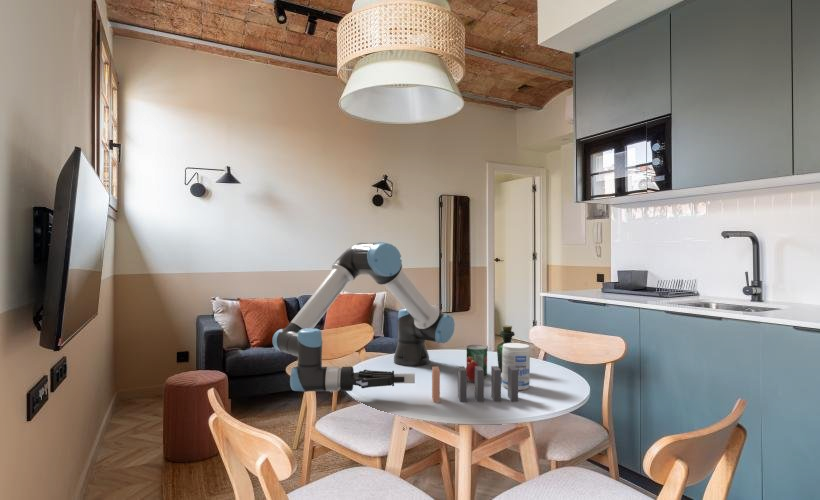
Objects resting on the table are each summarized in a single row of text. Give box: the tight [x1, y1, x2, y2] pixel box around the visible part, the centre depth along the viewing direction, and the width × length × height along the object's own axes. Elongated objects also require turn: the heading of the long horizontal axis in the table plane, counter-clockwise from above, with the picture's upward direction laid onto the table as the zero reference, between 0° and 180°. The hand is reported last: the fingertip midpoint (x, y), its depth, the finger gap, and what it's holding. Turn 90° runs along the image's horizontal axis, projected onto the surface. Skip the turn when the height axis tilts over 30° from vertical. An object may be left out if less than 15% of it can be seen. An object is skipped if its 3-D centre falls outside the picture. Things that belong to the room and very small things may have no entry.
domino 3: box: [490, 365, 502, 403], centre depth 151 cm, size 2×5×10 cm, turn 3°
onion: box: [465, 360, 479, 383], centre depth 170 cm, size 6×6×8 cm
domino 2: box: [474, 366, 485, 403], centre depth 150 cm, size 2×5×10 cm, turn 3°
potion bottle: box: [496, 325, 515, 374], centre depth 184 cm, size 8×8×18 cm
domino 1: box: [457, 365, 468, 403], centre depth 150 cm, size 2×5×10 cm, turn 3°
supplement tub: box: [501, 342, 531, 391], centre depth 164 cm, size 10×10×15 cm
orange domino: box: [431, 366, 441, 403], centre depth 150 cm, size 2×5×10 cm, turn 3°
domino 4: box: [507, 366, 519, 402], centre depth 151 cm, size 2×5×10 cm, turn 3°
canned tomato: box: [466, 344, 488, 379], centre depth 179 cm, size 8×8×11 cm
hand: (414, 378), depth 149 cm, fingers closed
